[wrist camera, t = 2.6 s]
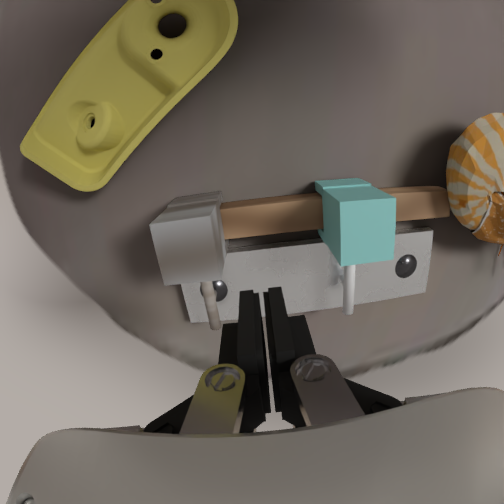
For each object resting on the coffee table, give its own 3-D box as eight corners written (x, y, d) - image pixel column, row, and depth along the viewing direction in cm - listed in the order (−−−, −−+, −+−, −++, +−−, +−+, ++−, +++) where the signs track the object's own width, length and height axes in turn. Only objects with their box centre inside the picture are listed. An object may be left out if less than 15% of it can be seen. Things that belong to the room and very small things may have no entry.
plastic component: (93, 201, 23) (7, 144, 16) (106, 163, 28) (37, 116, 22) (264, 28, 17) (172, -56, 10) (242, 27, 22) (172, -36, 15)
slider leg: (314, 181, 24) (339, 199, 18) (358, 178, 24) (396, 195, 17) (319, 296, 29) (337, 344, 22) (357, 290, 29) (383, 335, 22)
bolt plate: (177, 254, 27) (174, 259, 26) (427, 226, 26) (433, 230, 25) (192, 316, 30) (190, 322, 29) (420, 286, 29) (425, 292, 28)
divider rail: (176, 196, 25) (148, 222, 18) (437, 175, 24) (487, 192, 17) (200, 307, 29) (186, 359, 22) (428, 277, 28) (466, 315, 21)
